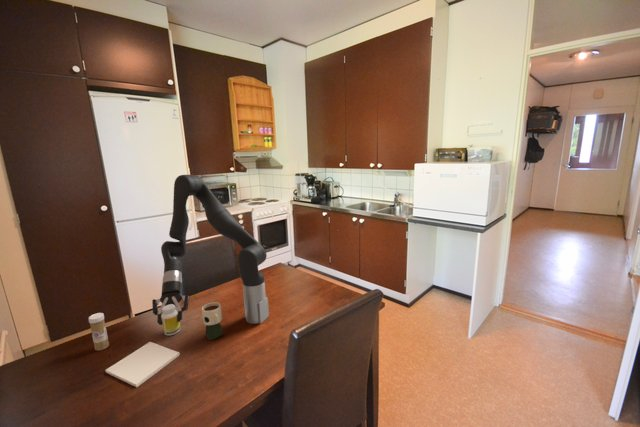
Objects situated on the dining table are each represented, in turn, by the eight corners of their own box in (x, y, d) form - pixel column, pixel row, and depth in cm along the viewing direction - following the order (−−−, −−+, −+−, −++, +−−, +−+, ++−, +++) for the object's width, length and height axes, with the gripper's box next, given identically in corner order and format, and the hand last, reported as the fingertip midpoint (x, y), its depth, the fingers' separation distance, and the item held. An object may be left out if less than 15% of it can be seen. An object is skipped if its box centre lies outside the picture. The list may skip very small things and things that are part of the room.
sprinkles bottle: (93, 352, 107) (86, 320, 104) (96, 345, 111) (90, 314, 108) (108, 349, 109) (101, 317, 106) (110, 342, 113) (104, 311, 110)
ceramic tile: (179, 355, 105) (179, 352, 104) (136, 387, 90) (136, 384, 90) (150, 343, 111) (149, 341, 111) (105, 372, 97) (105, 370, 97)
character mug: (200, 333, 117) (196, 304, 114) (217, 326, 122) (214, 298, 119) (211, 346, 109) (207, 315, 106) (228, 338, 114) (226, 308, 111)
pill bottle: (184, 328, 120) (180, 304, 118) (172, 337, 114) (168, 312, 112) (172, 325, 122) (168, 302, 120) (160, 334, 116) (156, 309, 114)
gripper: (151, 282, 119) (146, 324, 111) (188, 277, 123) (187, 317, 114) (156, 288, 125) (152, 328, 117) (191, 283, 129) (190, 322, 120)
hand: (169, 322), depth 116 cm, fingers closed on pill bottle, 6 cm apart
